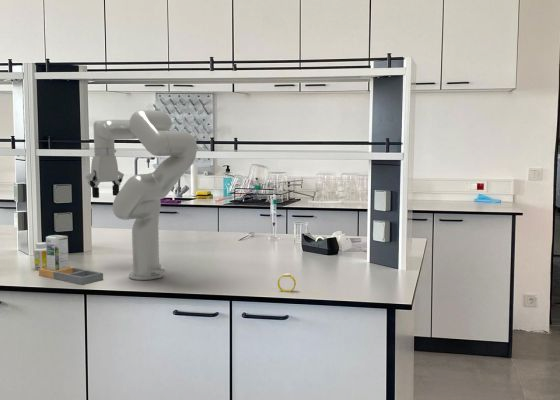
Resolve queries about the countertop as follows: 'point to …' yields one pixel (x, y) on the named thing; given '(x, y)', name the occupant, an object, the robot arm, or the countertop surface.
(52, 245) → the syrup box
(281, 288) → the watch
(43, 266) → the supplement bottle
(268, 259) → the countertop surface
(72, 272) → the compartment tray
